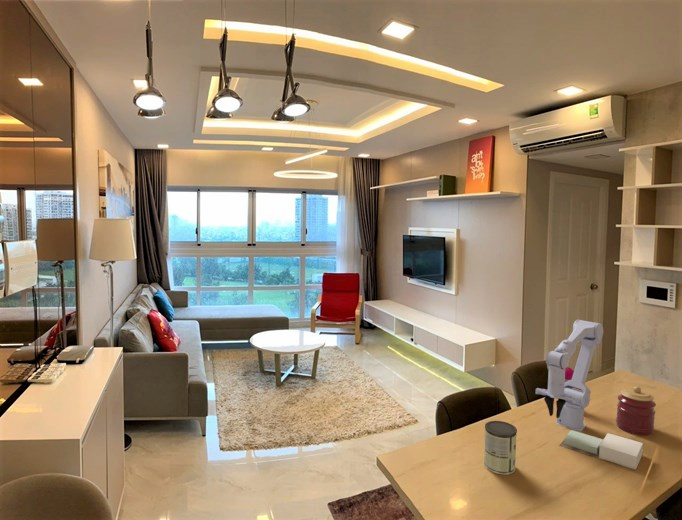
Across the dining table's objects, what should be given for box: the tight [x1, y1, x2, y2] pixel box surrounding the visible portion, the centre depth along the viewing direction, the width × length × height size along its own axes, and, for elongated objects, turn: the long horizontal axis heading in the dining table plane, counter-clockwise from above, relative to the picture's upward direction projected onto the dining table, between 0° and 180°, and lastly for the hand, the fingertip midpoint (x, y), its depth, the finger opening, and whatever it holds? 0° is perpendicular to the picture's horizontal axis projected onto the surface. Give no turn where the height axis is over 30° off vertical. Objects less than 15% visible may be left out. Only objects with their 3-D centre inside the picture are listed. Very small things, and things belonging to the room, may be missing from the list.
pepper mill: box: [565, 363, 575, 382], centre depth 198 cm, size 7×7×20 cm
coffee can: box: [483, 420, 518, 476], centre depth 150 cm, size 10×10×14 cm
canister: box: [615, 385, 657, 436], centre depth 177 cm, size 13×13×18 cm
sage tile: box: [563, 429, 604, 454], centre depth 164 cm, size 11×9×2 cm
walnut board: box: [558, 439, 643, 472], centre depth 160 cm, size 24×14×1 cm, turn 47°
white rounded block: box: [599, 432, 644, 471], centre depth 156 cm, size 11×12×5 cm
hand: (554, 416), depth 170 cm, fingers closed
